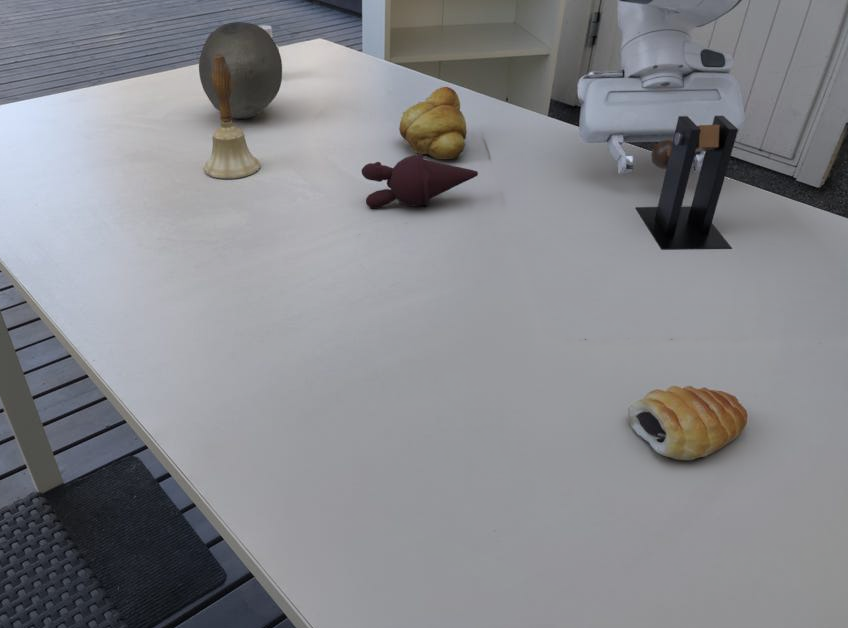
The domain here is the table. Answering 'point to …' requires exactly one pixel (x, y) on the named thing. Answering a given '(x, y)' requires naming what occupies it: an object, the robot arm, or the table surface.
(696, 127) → the bracket
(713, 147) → the lever
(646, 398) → the pastry
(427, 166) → the icecream
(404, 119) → the bread roll
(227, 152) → the hand bell
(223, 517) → the table surface
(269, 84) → the grey round ball
